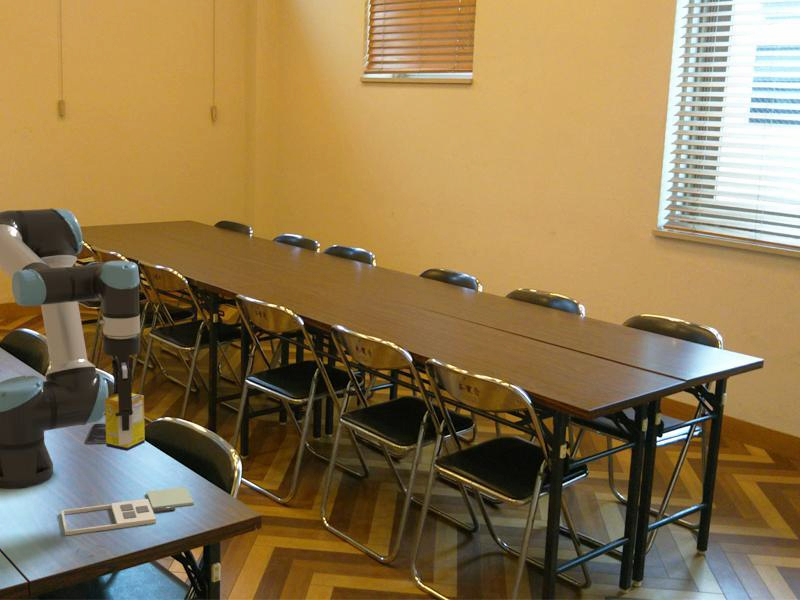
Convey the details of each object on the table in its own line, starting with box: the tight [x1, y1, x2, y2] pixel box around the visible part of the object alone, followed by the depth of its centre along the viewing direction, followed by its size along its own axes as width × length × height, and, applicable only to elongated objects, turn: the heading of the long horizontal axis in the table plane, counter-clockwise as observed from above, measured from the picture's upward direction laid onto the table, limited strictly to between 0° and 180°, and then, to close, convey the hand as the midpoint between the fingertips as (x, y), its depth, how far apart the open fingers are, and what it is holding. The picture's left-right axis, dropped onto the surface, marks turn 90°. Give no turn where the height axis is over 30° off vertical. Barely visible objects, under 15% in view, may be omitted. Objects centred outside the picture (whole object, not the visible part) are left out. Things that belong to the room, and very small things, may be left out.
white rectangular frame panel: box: [60, 498, 176, 536], centre depth 207 cm, size 11×24×1 cm, turn 113°
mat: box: [146, 486, 195, 509], centre depth 217 cm, size 9×9×1 cm
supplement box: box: [104, 392, 146, 452], centre depth 205 cm, size 6×6×11 cm
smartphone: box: [85, 423, 106, 445], centre depth 256 cm, size 8×1×15 cm
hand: (123, 436), depth 206 cm, fingers closed on supplement box, 8 cm apart
